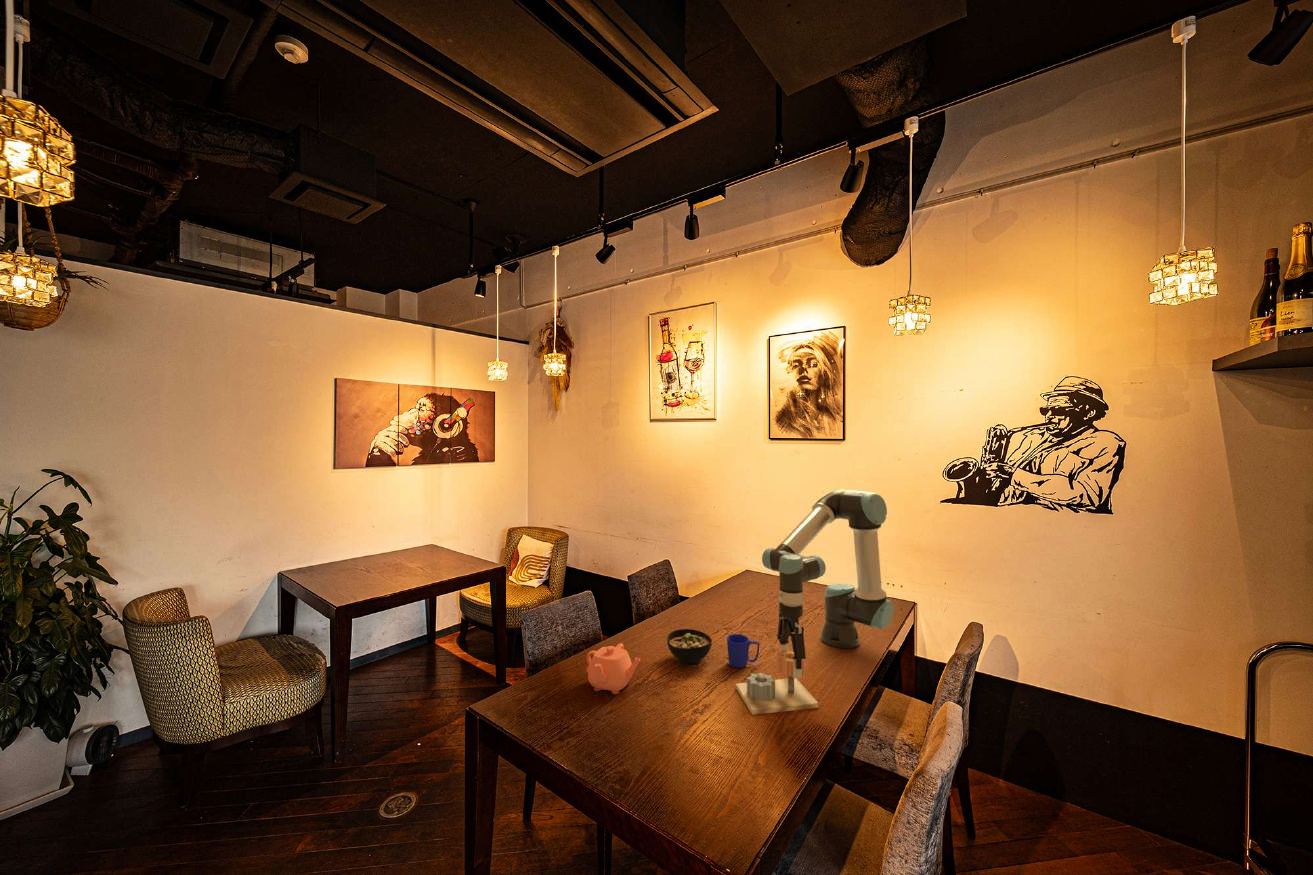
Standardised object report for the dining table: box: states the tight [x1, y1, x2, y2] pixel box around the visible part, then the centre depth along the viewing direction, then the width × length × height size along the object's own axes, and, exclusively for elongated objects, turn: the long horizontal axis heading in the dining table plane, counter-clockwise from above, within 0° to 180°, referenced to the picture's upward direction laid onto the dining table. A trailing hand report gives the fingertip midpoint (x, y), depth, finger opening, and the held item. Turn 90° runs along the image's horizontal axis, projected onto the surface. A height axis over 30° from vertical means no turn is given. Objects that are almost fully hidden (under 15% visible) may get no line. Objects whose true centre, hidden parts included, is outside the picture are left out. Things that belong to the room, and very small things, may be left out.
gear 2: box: [776, 650, 806, 678], centre depth 161 cm, size 9×9×5 cm
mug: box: [726, 633, 760, 669], centre depth 183 cm, size 8×12×10 cm
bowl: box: [666, 628, 713, 667], centre depth 187 cm, size 17×17×10 cm
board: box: [735, 676, 819, 716], centre depth 161 cm, size 22×16×7 cm
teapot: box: [586, 642, 641, 695], centre depth 168 cm, size 16×17×14 cm
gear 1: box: [746, 672, 776, 702], centre depth 160 cm, size 9×9×5 cm
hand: (790, 670), depth 162 cm, fingers closed on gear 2, 9 cm apart
